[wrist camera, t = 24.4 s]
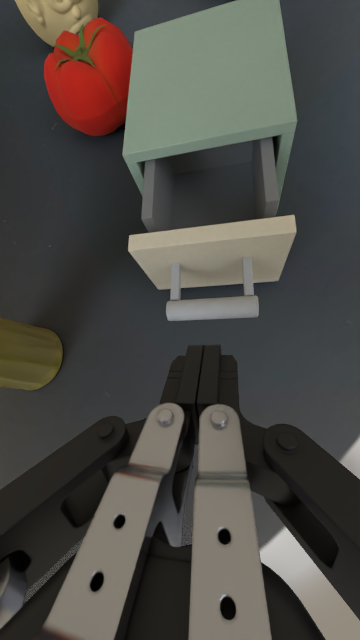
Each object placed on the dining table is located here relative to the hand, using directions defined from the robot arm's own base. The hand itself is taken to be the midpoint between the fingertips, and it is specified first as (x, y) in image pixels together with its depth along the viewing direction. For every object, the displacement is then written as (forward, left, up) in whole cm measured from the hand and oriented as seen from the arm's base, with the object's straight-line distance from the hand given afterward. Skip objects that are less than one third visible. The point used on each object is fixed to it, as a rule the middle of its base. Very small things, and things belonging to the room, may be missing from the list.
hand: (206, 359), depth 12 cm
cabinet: (+21, 0, -9) cm, 23 cm away
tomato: (+32, +13, -9) cm, 36 cm away
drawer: (+12, 0, -8) cm, 14 cm away
